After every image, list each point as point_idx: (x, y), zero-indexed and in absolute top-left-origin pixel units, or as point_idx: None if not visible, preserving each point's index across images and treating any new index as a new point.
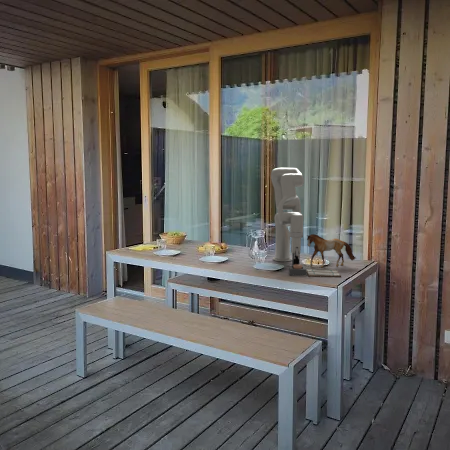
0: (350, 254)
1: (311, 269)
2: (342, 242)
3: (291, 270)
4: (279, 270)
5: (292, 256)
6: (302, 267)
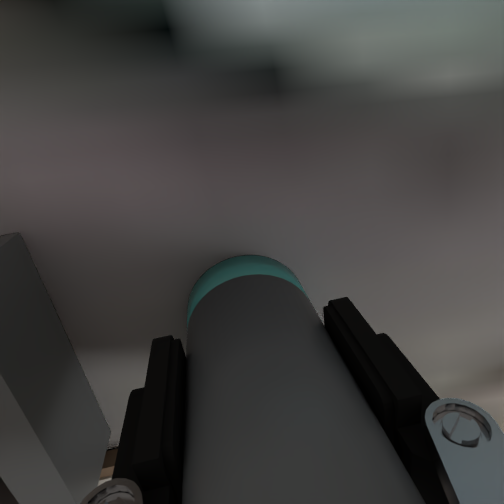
0: None
1: None
2: None
3: None
4: (47, 14)
5: (258, 481)
6: (6, 499)
